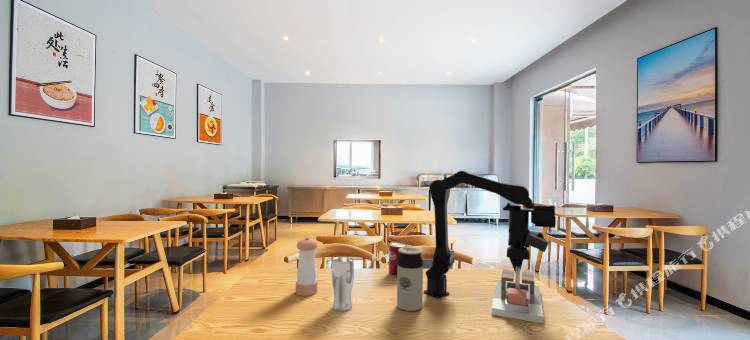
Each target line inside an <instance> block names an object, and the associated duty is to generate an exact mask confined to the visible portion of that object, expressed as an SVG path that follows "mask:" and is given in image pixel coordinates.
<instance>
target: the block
mask: <svg viewBox="0 0 750 340" xmlns="http://www.w3.org/2000/svg"><path fill="white" fill-rule="evenodd" d="M526 298H527V295H526V290H522V289H515V288H509V289H508V303H510V304H516V305H522V306H526Z"/></svg>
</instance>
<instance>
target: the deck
mask: <svg viewBox="0 0 750 340" xmlns="http://www.w3.org/2000/svg"><path fill="white" fill-rule="evenodd" d="M509 288H515V282H509V281H506V290H505V298H506V296H508V289H509ZM520 289H522V290H526V295H527V298H526V299H529V314H525V313H519V312H513V311H507V310H505V298H504V299H501V280H497V281H496V285H495V290H494V296H493V300H492V304H491V305H492V306H491V315H492V316H493V315H494V316H498V317H504V318H510V319H514V320H515V319H516V320H522V321H526V322H527V321H528V322H531V323H532V322H533V323H539V324H544V317H545V316H544V310H543V304H542V297H541V296H542V295H541V291H540V285H536V284H534V304H530V284H524V283H520Z"/></svg>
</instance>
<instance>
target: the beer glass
mask: <svg viewBox="0 0 750 340" xmlns="http://www.w3.org/2000/svg"><path fill="white" fill-rule="evenodd" d="M354 260H355V259H354V258H352V257H349V256H337V257H334V258H332V261H331V262H332V263H331V264H332V265H331V283H332V288H333V297H334V299H333V303H332V304H333V305H332V309H333V310H334V311H335V312H336V311H337V312H348V311H350V310H352V308H353V302H352V301H353V300H352V292H353V291H352V290H353V286H354V279H355V263H354Z"/></svg>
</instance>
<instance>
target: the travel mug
mask: <svg viewBox="0 0 750 340" xmlns="http://www.w3.org/2000/svg"><path fill="white" fill-rule="evenodd" d="M399 253H400V256H399V258H398V268H397V276H396V279H397V281H396V284H397V285H396V305H397V307H398V308H399V309H401V310H403V311H405V312H406V311H407V312H415V311H419V310H420V309H422V308H423V293H424V290H423V288H424V287H423V284H424V281H423V280H424V276H423V275H424V272H423V271H424V260H423V258H422V253H423V249H422V248H421V247H414V246H413V247H412V246H407V247H403V248H400V249H399Z"/></svg>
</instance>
